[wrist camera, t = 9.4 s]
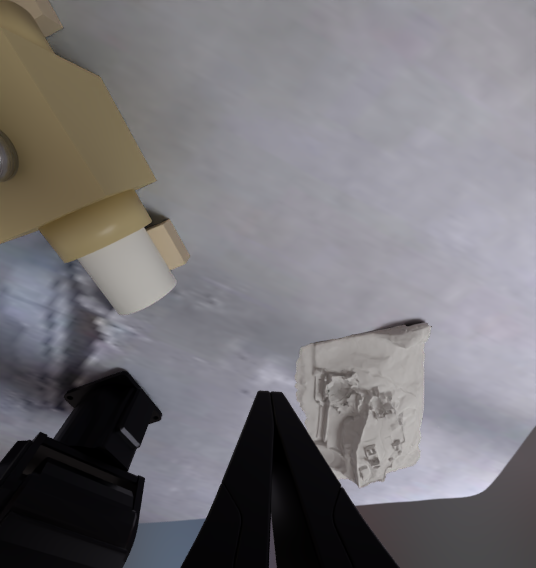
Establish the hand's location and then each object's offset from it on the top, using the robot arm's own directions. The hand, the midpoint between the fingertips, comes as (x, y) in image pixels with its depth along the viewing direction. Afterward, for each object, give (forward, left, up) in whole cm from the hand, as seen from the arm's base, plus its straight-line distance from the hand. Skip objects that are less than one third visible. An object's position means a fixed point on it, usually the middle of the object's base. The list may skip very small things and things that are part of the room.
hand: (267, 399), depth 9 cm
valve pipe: (-7, +11, -13) cm, 18 cm away
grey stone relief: (+3, -20, -14) cm, 25 cm away
